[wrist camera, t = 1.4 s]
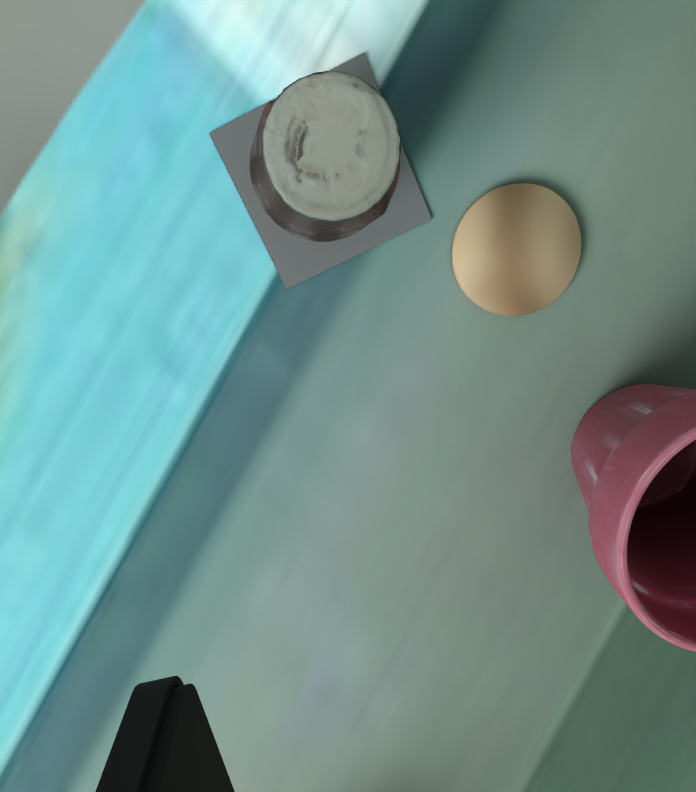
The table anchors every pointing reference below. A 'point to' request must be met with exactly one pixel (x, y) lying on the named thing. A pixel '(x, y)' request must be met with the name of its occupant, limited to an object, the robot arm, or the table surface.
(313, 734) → the table surface
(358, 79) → the sauce bottle
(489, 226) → the coaster
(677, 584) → the plant pot
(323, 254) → the gray card
